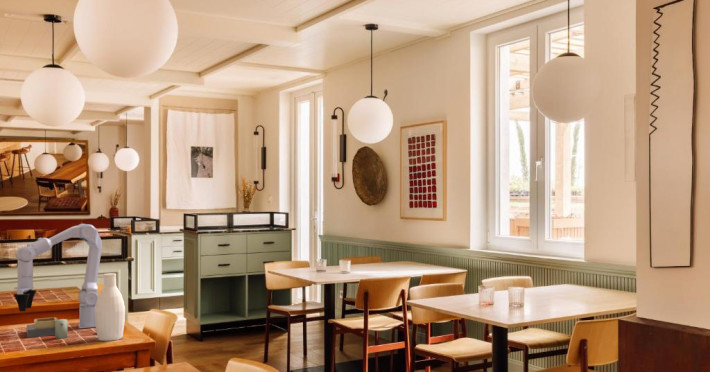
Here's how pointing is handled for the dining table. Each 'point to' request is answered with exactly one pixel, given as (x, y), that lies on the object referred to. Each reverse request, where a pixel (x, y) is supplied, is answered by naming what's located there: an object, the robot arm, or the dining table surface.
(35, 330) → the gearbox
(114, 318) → the bottle
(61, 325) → the spout can
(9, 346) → the dining table surface
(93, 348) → the dining table surface
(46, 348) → the dining table surface
